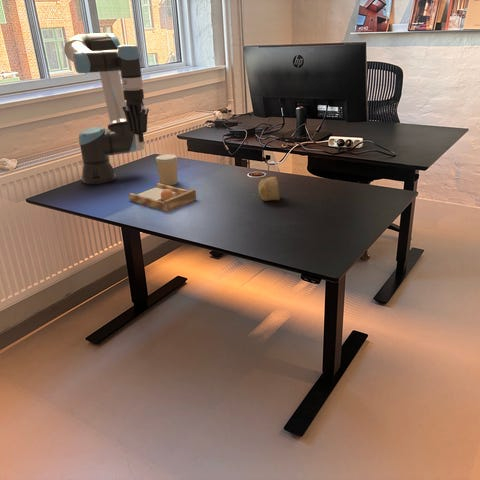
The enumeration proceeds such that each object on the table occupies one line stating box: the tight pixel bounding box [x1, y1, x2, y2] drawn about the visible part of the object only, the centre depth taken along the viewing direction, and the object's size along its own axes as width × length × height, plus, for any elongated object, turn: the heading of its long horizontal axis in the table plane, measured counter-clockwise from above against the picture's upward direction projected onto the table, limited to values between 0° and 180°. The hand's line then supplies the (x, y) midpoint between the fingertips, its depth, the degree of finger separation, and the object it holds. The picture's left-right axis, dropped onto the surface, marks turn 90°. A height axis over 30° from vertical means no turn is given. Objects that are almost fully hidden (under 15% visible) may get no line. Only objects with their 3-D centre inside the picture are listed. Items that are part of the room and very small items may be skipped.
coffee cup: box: [155, 153, 178, 186], centre depth 209 cm, size 9×9×12 cm
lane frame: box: [128, 182, 197, 213], centre depth 191 cm, size 22×16×4 cm
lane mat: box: [136, 186, 177, 202], centre depth 192 cm, size 20×14×2 cm
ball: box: [161, 189, 173, 201], centre depth 188 cm, size 5×5×5 cm
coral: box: [257, 176, 281, 202], centre depth 186 cm, size 10×10×10 cm
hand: (140, 149), depth 189 cm, fingers closed
